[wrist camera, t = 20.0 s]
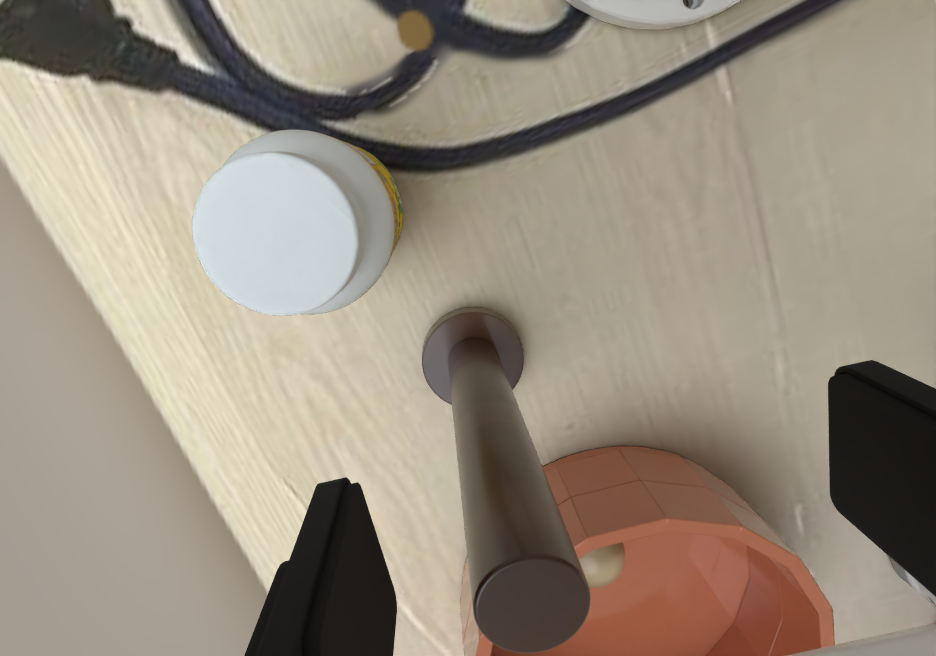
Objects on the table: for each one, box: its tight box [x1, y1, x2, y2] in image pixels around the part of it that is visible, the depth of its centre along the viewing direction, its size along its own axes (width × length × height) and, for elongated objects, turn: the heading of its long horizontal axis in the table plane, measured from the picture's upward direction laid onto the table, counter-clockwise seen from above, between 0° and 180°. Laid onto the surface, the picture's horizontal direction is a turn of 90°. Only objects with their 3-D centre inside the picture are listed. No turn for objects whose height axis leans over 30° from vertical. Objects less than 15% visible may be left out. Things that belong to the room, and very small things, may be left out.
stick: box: [422, 307, 591, 653], centre depth 17 cm, size 4×4×15 cm
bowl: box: [460, 446, 835, 656], centre depth 25 cm, size 15×15×6 cm
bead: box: [579, 542, 625, 588], centre depth 25 cm, size 3×3×3 cm
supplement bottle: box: [192, 130, 403, 316], centre depth 18 cm, size 5×5×10 cm
